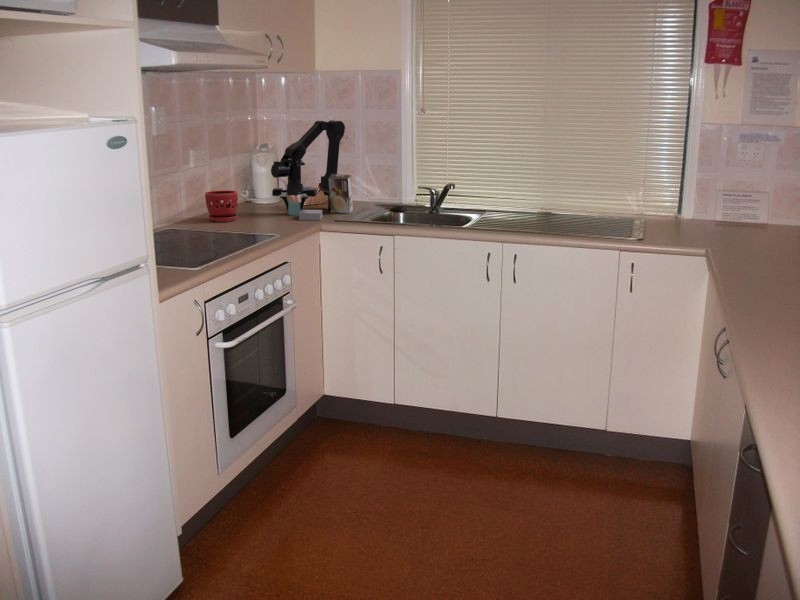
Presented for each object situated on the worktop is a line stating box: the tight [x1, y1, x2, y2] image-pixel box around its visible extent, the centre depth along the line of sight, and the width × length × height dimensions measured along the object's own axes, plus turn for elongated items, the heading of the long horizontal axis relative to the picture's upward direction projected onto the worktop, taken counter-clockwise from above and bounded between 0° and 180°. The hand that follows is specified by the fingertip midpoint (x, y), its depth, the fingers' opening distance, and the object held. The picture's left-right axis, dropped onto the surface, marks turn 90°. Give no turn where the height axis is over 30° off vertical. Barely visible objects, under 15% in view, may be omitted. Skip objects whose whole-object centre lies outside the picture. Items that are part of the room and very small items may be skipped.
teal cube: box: [287, 201, 301, 216], centre depth 351 cm, size 5×5×5 cm
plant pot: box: [204, 190, 239, 223], centre depth 332 cm, size 13×13×12 cm
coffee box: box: [329, 174, 354, 214], centre depth 355 cm, size 9×6×16 cm
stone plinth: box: [298, 209, 323, 221], centre depth 341 cm, size 9×9×3 cm
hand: (294, 211), depth 351 cm, fingers closed on teal cube, 5 cm apart
